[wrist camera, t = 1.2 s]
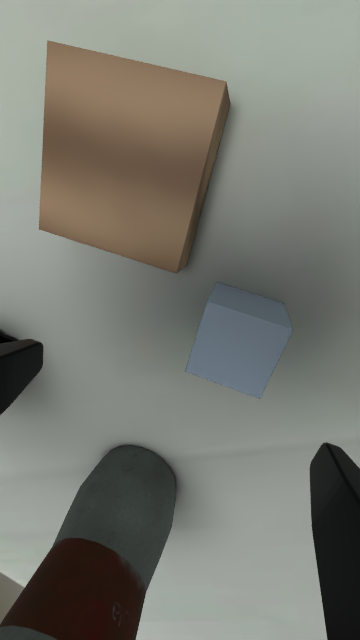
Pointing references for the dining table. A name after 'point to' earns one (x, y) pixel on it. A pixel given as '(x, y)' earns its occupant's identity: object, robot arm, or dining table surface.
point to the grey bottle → (100, 554)
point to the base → (127, 153)
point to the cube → (239, 340)
